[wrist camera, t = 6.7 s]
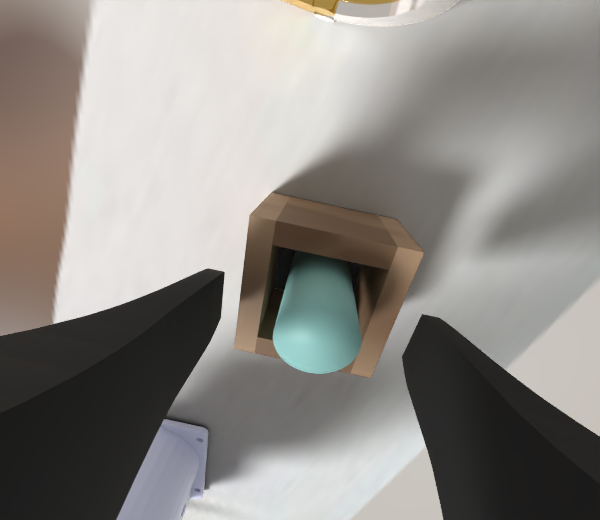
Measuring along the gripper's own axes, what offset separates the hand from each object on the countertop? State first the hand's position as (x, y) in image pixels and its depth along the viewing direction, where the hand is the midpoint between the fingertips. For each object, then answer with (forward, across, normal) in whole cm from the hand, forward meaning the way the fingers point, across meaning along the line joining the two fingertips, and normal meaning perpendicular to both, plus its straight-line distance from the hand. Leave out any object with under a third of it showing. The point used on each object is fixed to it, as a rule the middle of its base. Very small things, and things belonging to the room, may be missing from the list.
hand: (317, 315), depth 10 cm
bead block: (+5, 0, 0) cm, 5 cm away
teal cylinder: (+5, 0, 0) cm, 5 cm away
